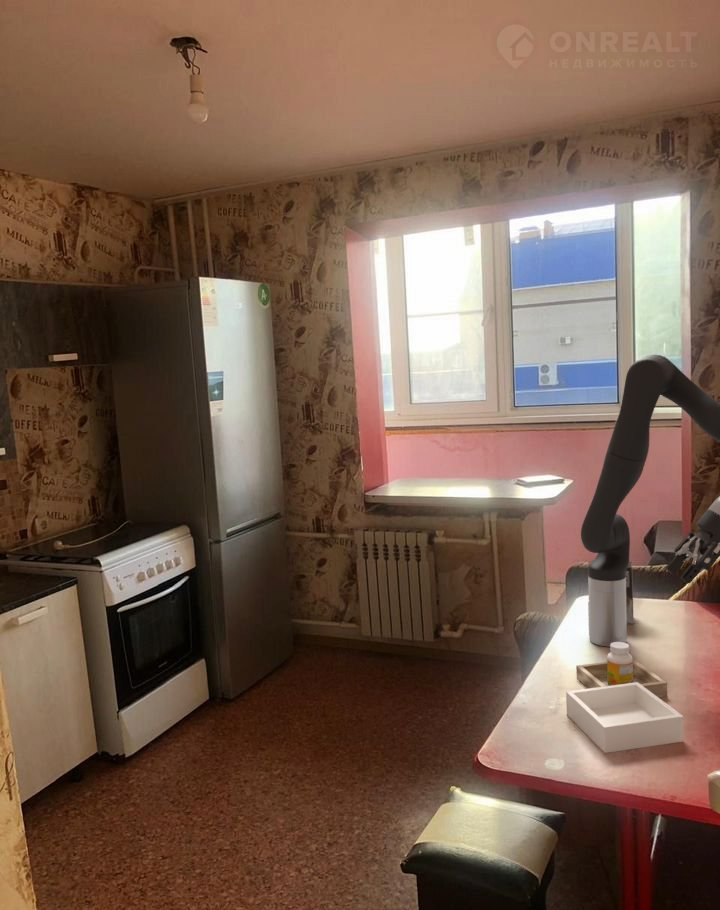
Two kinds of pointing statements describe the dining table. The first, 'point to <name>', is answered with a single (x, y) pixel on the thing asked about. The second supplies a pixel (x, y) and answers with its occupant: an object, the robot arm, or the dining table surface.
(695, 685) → the dining table surface
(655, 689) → the frame
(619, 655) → the supplement bottle
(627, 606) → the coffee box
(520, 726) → the dining table surface
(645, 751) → the dining table surface
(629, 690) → the bin
